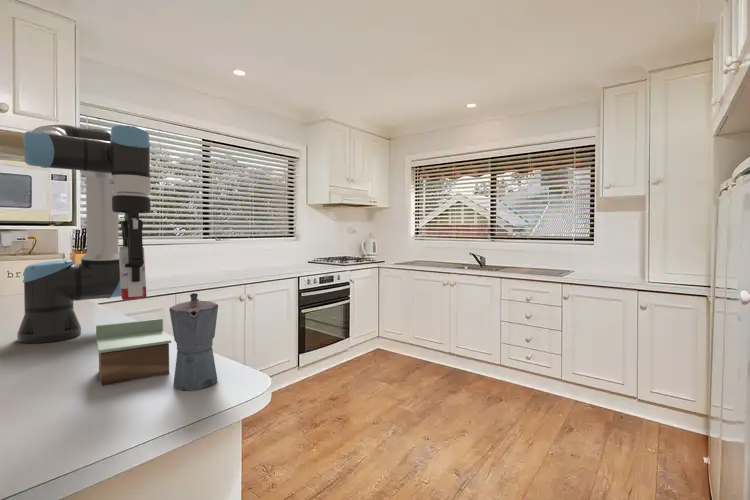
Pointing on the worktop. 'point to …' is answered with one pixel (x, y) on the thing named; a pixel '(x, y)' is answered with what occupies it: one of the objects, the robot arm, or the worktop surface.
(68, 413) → the worktop surface
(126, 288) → the ink box
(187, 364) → the moka pot
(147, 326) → the lid
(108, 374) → the walnut box
